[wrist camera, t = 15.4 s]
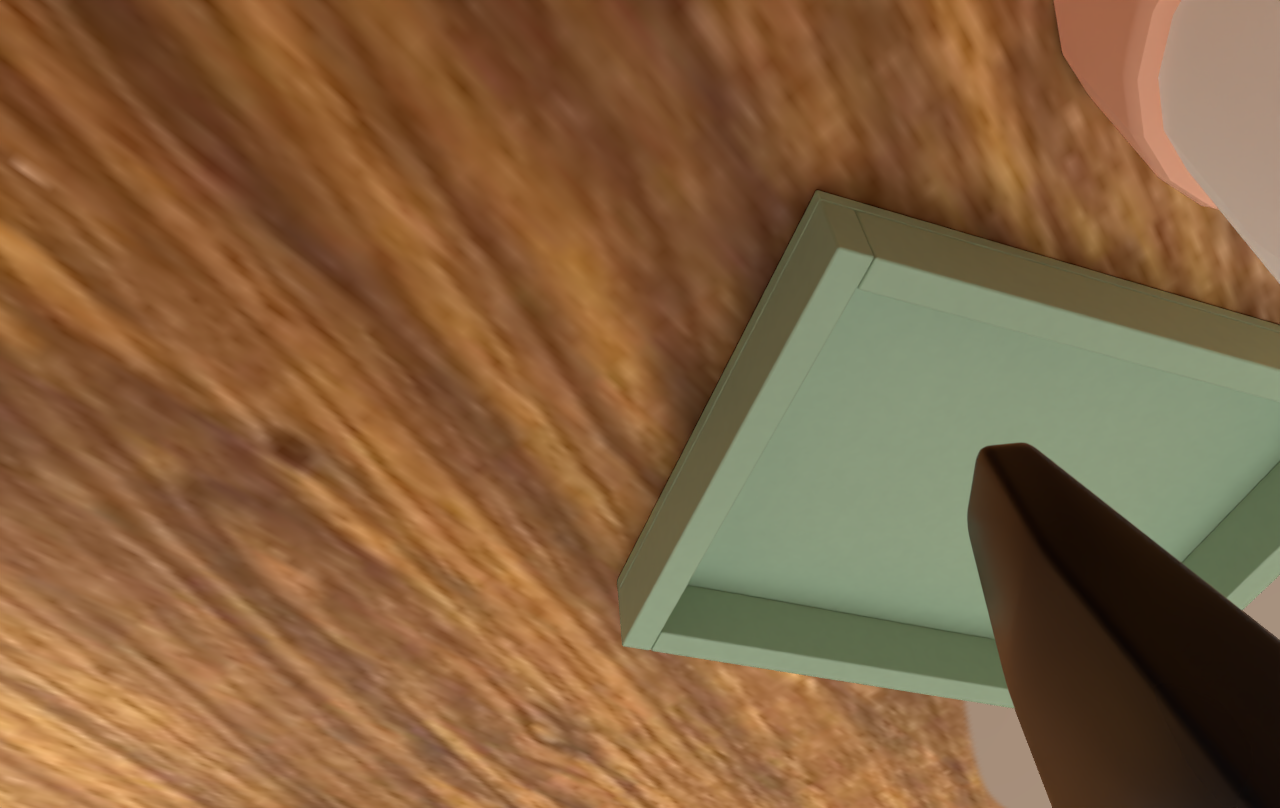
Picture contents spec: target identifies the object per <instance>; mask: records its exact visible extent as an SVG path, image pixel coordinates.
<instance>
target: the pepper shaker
mask: <svg viewBox="0 0 1280 808" xmlns="http://www.w3.org/2000/svg"><path fill="white" fill-rule="evenodd" d="M1054 6H1055V12H1056V19H1057V25H1058V31H1059V37H1060V43H1061V49H1062V54H1063V55H1064V57H1065V59H1066V60H1067V62H1068V63H1069V65H1070V67H1071V68H1072V70H1073V71H1074V73H1075V75H1076V76H1077V78H1078V79H1079V81H1080V83H1081V84H1082V86H1083V87H1084V89H1085V91H1086V92H1087V94H1088V95H1089V97H1090V98H1091V99H1092V100H1093V101H1094V102H1095V104H1096V105H1097V106H1098V107H1099V108H1100V109H1101V111H1102V112H1103V113H1104V114H1105V115H1106V117H1107V118H1108V119H1109V120H1110V121H1111V122H1112V124H1113V125H1114V126H1115V127H1116V128H1117V129H1118V131H1119V132H1120V133H1121V134H1122V135H1123V136H1124V138H1125V139H1126V140H1127V141H1128V142H1129V144H1130V145H1131V146H1132V147H1133V148H1134V149H1135V151H1136V152H1137V153H1138V154H1139V155H1140V156H1141V158H1142V159H1143V160H1144V161H1145V162H1146V164H1147V165H1148V166H1149V167H1150V168H1151V169H1152V171H1153V172H1154V173H1155V174H1156V175H1157V176H1158V178H1160V179H1161V180H1163V181H1164V182H1166V183H1167V184H1169V185H1170V186H1172V187H1173V188H1175V189H1177V190H1178V191H1180V192H1181V193H1183V194H1184V195H1186V196H1187V197H1189V198H1190V199H1192V200H1193V201H1195V202H1197V203H1198V204H1200V205H1201V206H1205V207H1210V208H1216V209H1219V210H1220V211H1221V212H1222V214H1223V215H1224V216H1225V217H1226V219H1227V220H1228V221H1229V222H1230V223H1231V225H1232V226H1233V227H1234V228H1235V230H1236V231H1237V232H1238V233H1239V235H1240V236H1241V237H1242V238H1243V239H1244V241H1245V242H1246V243H1247V244H1248V246H1249V247H1250V248H1251V249H1252V251H1253V252H1254V253H1255V254H1256V255H1257V257H1258V258H1259V259H1260V260H1261V262H1262V263H1263V264H1264V265H1265V267H1266V268H1267V269H1268V270H1269V271H1270V273H1271V274H1272V275H1273V276H1274V278H1275V279H1276V280H1277V281H1278V282H1279V284H1280V0H1054Z"/></svg>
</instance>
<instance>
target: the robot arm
mask: <svg viewBox="0 0 1280 808" xmlns="http://www.w3.org/2000/svg"><path fill="white" fill-rule="evenodd" d="M967 526H968V533H969V538H970V542H971V546H972V550H973V554H974V558H975V562H976V566H977V570H978V574H979V578H980V582H981V586H982V590H983V594H984V598H985V602H986V606H987V610H988V614H989V618H990V622H991V626H992V630H993V634H994V638H995V642H996V646H997V650H998V654H999V658H1000V662H1001V666H1002V669H1003V673H1004V677H1005V680H1006V684H1007V688H1008V691H1009V694H1010V697H1011V699H1012V702H1013V705H1014V708H1015V711H1016V714H1017V717H1018V719H1019V722H1020V724H1021V727H1022V729H1023V732H1024V735H1025V737H1026V740H1027V743H1028V745H1029V748H1030V750H1031V753H1032V755H1033V758H1034V761H1035V763H1036V766H1037V769H1038V771H1039V774H1040V776H1041V779H1042V782H1043V784H1044V787H1045V790H1046V792H1047V795H1048V797H1049V800H1050V803H1051V805H1052V808H1280V640H1279V639H1278V638H1277V637H1275V636H1274V635H1273V634H1271V633H1270V632H1269V631H1268V630H1266V629H1265V628H1264V627H1263V626H1261V625H1260V624H1259V623H1257V622H1256V621H1255V620H1254V619H1252V618H1251V617H1250V616H1249V615H1247V614H1246V613H1245V612H1244V611H1242V610H1241V609H1240V608H1238V607H1237V606H1236V605H1235V604H1233V603H1232V602H1231V601H1230V600H1228V599H1227V598H1226V597H1225V596H1223V595H1222V594H1221V593H1219V592H1218V591H1217V590H1216V589H1214V588H1213V587H1212V586H1211V585H1209V584H1208V583H1207V582H1205V581H1204V580H1203V579H1202V578H1200V577H1199V576H1198V575H1197V574H1195V573H1194V572H1193V571H1191V570H1190V569H1189V568H1188V567H1186V566H1185V565H1184V564H1183V563H1181V562H1180V561H1179V560H1178V559H1176V558H1175V557H1174V556H1172V555H1171V554H1170V553H1169V552H1167V551H1166V550H1165V549H1164V548H1162V547H1161V546H1160V545H1158V544H1157V543H1156V542H1155V541H1153V540H1152V539H1151V538H1150V537H1148V536H1147V535H1146V534H1145V533H1143V532H1142V531H1141V530H1139V529H1138V528H1137V527H1136V526H1134V525H1133V524H1132V523H1131V522H1129V521H1128V520H1127V519H1125V518H1124V517H1123V516H1122V515H1120V514H1119V513H1118V512H1117V511H1115V510H1114V509H1113V508H1111V507H1110V506H1109V505H1108V504H1106V503H1105V502H1104V501H1103V500H1101V499H1100V498H1099V497H1098V496H1096V495H1095V494H1094V493H1092V492H1091V491H1090V490H1089V489H1087V488H1086V487H1085V486H1084V485H1082V484H1081V483H1080V482H1078V481H1077V480H1076V479H1075V478H1073V477H1072V476H1071V475H1070V474H1068V473H1067V472H1066V471H1065V470H1063V469H1062V468H1061V467H1059V466H1058V465H1057V464H1056V463H1054V462H1053V461H1052V460H1051V459H1049V458H1048V457H1047V456H1045V455H1044V454H1043V453H1042V452H1040V451H1039V450H1038V449H1037V448H1035V447H1034V446H1032V445H1030V444H1028V443H1023V442H1019V443H1009V444H999V445H989V446H986V447H983V448H982V449H981V450H980V451H979V453H978V455H977V457H976V462H975V468H974V474H973V480H972V486H971V491H970V497H969V503H968V510H967Z"/></svg>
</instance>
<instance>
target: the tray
mask: <svg viewBox="0 0 1280 808" xmlns="http://www.w3.org/2000/svg"><path fill="white" fill-rule="evenodd" d="M1019 442H1023V443H1028V444H1030V445H1032V446H1034V447H1035V448H1037V449H1038V450H1039V451H1040V452H1042V453H1043V454H1044V455H1045V456H1047V457H1048V458H1049V459H1051V460H1052V461H1053V462H1054V463H1056V464H1057V465H1058V466H1059V467H1061V468H1062V469H1063V470H1065V471H1066V472H1067V473H1068V474H1070V475H1071V476H1072V477H1073V478H1075V479H1076V480H1077V481H1078V482H1080V483H1081V484H1082V485H1084V486H1085V487H1086V488H1087V489H1089V490H1090V491H1091V492H1092V493H1094V494H1095V495H1096V496H1098V497H1099V498H1100V499H1101V500H1103V501H1104V502H1105V503H1106V504H1108V505H1109V506H1110V507H1111V508H1113V509H1114V510H1115V511H1117V512H1118V513H1119V514H1120V515H1122V516H1123V517H1124V518H1125V519H1127V520H1128V521H1129V522H1131V523H1132V524H1133V525H1134V526H1136V527H1137V528H1138V529H1139V530H1141V531H1142V532H1143V533H1145V534H1146V535H1147V536H1148V537H1150V538H1151V539H1152V540H1153V541H1155V542H1156V543H1157V544H1158V545H1160V546H1161V547H1162V548H1164V549H1165V550H1166V551H1167V552H1169V553H1170V554H1171V555H1172V556H1174V557H1175V558H1176V559H1178V560H1179V561H1180V562H1181V563H1183V564H1184V565H1185V566H1186V567H1188V568H1189V569H1190V570H1191V571H1193V572H1194V573H1195V574H1197V575H1198V576H1199V577H1200V578H1202V579H1203V580H1204V581H1205V582H1207V583H1208V584H1209V585H1211V586H1212V587H1213V588H1214V589H1216V590H1217V591H1218V592H1219V593H1221V594H1222V595H1223V596H1225V597H1226V598H1227V599H1228V600H1230V601H1231V602H1232V603H1233V604H1235V605H1236V606H1237V607H1238V608H1240V609H1241V610H1243V609H1244V608H1245V607H1246V606H1247V605H1248V604H1250V603H1251V602H1252V601H1253V600H1254V599H1255V598H1256V597H1257V596H1258V595H1259V594H1260V593H1261V592H1262V591H1263V590H1264V589H1265V588H1266V587H1267V586H1268V585H1270V584H1271V583H1272V582H1273V581H1274V580H1275V579H1276V578H1277V577H1278V576H1279V575H1280V325H1277V324H1274V323H1271V322H1267V321H1264V320H1260V319H1257V318H1253V317H1250V316H1247V315H1243V314H1240V313H1236V312H1233V311H1230V310H1226V309H1223V308H1219V307H1216V306H1212V305H1209V304H1206V303H1202V302H1199V301H1195V300H1192V299H1188V298H1185V297H1182V296H1178V295H1175V294H1171V293H1168V292H1165V291H1161V290H1158V289H1154V288H1151V287H1147V286H1144V285H1141V284H1137V283H1134V282H1130V281H1127V280H1123V279H1120V278H1117V277H1113V276H1110V275H1106V274H1103V273H1099V272H1096V271H1093V270H1089V269H1086V268H1082V267H1079V266H1076V265H1072V264H1069V263H1065V262H1062V261H1058V260H1055V259H1052V258H1048V257H1045V256H1041V255H1038V254H1034V253H1031V252H1028V251H1024V250H1021V249H1017V248H1014V247H1011V246H1007V245H1004V244H1000V243H997V242H993V241H990V240H987V239H983V238H980V237H976V236H973V235H969V234H966V233H963V232H959V231H956V230H952V229H949V228H945V227H942V226H939V225H935V224H932V223H928V222H925V221H922V220H918V219H915V218H911V217H908V216H904V215H901V214H898V213H894V212H891V211H887V210H884V209H880V208H877V207H874V206H870V205H867V204H863V203H860V202H857V201H853V200H850V199H846V198H843V197H839V196H836V195H833V194H829V193H826V192H822V191H819V190H817V191H816V192H815V194H814V196H813V198H812V200H811V202H810V204H809V206H808V207H807V209H806V211H805V213H804V215H803V217H802V219H801V221H800V223H799V225H798V227H797V229H796V231H795V233H794V235H793V237H792V239H791V241H790V243H789V245H788V247H787V249H786V251H785V253H784V255H783V257H782V258H781V260H780V262H779V264H778V266H777V268H776V270H775V272H774V274H773V276H772V278H771V280H770V282H769V284H768V286H767V288H766V290H765V292H764V294H763V296H762V298H761V300H760V302H759V304H758V306H757V307H756V309H755V311H754V313H753V315H752V317H751V319H750V321H749V323H748V325H747V327H746V329H745V331H744V333H743V335H742V337H741V339H740V341H739V343H738V345H737V347H736V349H735V351H734V353H733V355H732V356H731V358H730V360H729V362H728V364H727V366H726V368H725V370H724V372H723V374H722V376H721V378H720V380H719V382H718V384H717V386H716V388H715V390H714V392H713V394H712V396H711V398H710V400H709V402H708V404H707V405H706V407H705V409H704V411H703V413H702V415H701V417H700V419H699V421H698V423H697V425H696V427H695V429H694V431H693V433H692V435H691V437H690V439H689V441H688V443H687V445H686V447H685V449H684V451H683V453H682V455H681V456H680V458H679V460H678V462H677V464H676V466H675V468H674V470H673V472H672V474H671V476H670V478H669V480H668V482H667V484H666V486H665V488H664V490H663V492H662V494H661V496H660V498H659V500H658V502H657V504H656V505H655V507H654V509H653V511H652V513H651V515H650V517H649V519H648V521H647V523H646V525H645V527H644V529H643V531H642V533H641V535H640V537H639V539H638V541H637V543H636V545H635V547H634V549H633V551H632V553H631V554H630V556H629V558H628V560H627V562H626V564H625V566H624V568H623V570H622V572H621V574H620V576H619V578H618V580H617V589H618V598H619V611H620V624H621V636H622V645H623V646H625V647H632V648H638V649H644V650H650V649H651V650H652V651H656V652H662V653H669V654H675V655H681V656H688V657H694V658H700V659H706V660H713V661H719V662H725V663H732V664H738V665H744V666H751V667H757V668H763V669H769V670H776V671H782V672H788V673H795V674H801V675H807V676H813V677H820V678H826V679H832V680H839V681H845V682H851V683H857V684H864V685H870V686H876V687H883V688H889V689H895V690H901V691H908V692H914V693H920V694H927V695H933V696H939V697H946V698H952V699H958V700H964V701H971V702H977V703H984V704H990V705H996V706H1002V707H1008V708H1014V705H1013V702H1012V699H1011V697H1010V694H1009V691H1008V688H1007V684H1006V680H1005V677H1004V673H1003V669H1002V666H1001V662H1000V658H999V654H998V650H997V646H996V642H995V638H994V634H993V630H992V626H991V622H990V618H989V614H988V610H987V606H986V602H985V598H984V594H983V590H982V586H981V582H980V578H979V574H978V570H977V566H976V562H975V558H974V554H973V550H972V546H971V542H970V538H969V533H968V526H967V510H968V503H969V497H970V491H971V486H972V480H973V474H974V468H975V462H976V457H977V455H978V453H979V451H980V450H981V449H982V448H983V447H986V446H989V445H999V444H1009V443H1019Z"/></svg>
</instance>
